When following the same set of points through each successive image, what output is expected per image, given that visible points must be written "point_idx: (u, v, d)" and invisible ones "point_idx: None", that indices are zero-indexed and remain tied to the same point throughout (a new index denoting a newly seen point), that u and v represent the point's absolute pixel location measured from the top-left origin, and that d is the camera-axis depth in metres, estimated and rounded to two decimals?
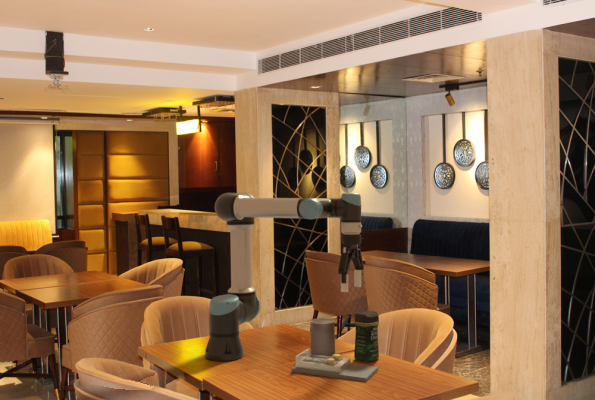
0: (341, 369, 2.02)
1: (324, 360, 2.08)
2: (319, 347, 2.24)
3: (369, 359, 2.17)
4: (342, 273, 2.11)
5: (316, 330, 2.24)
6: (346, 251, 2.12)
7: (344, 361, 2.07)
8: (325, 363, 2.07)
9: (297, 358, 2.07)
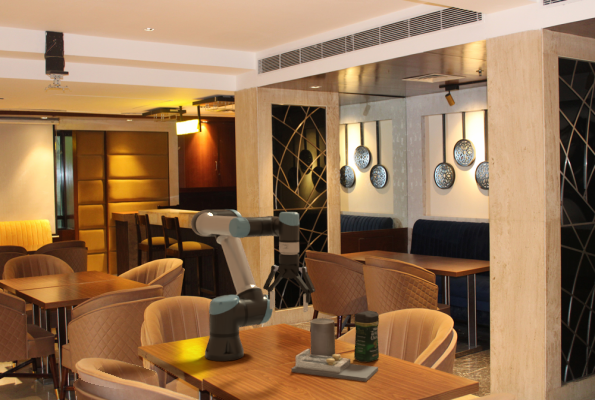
0: (341, 369, 2.02)
1: (324, 360, 2.08)
2: (319, 347, 2.24)
3: (369, 359, 2.17)
4: None
5: (316, 330, 2.24)
6: None
7: (344, 361, 2.07)
8: (325, 363, 2.07)
9: (297, 358, 2.07)
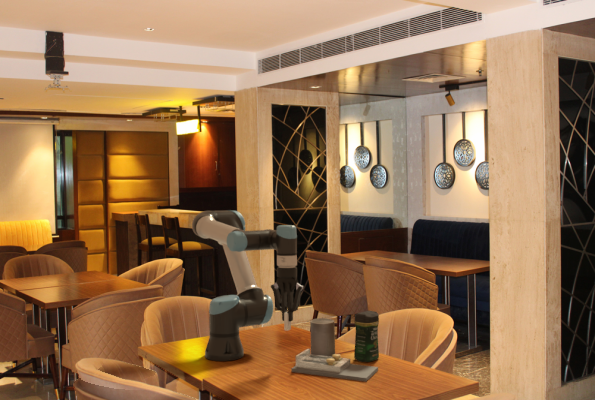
0: (341, 369, 2.02)
1: (324, 360, 2.08)
2: (319, 347, 2.24)
3: (369, 359, 2.17)
4: None
5: (316, 330, 2.24)
6: None
7: (344, 361, 2.07)
8: (325, 363, 2.07)
9: (297, 358, 2.07)
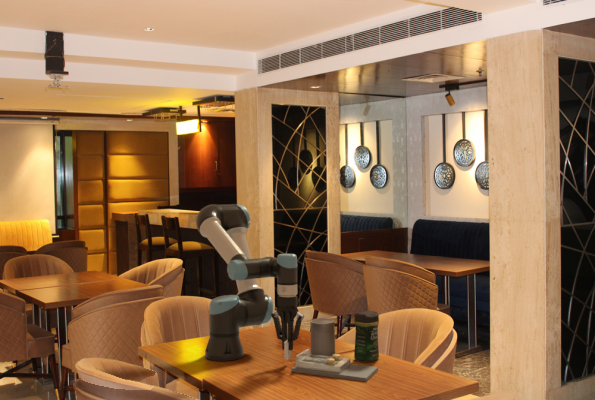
0: (341, 369, 2.02)
1: (324, 360, 2.08)
2: (319, 347, 2.24)
3: (369, 359, 2.17)
4: None
5: (316, 330, 2.24)
6: None
7: (344, 361, 2.07)
8: (325, 363, 2.07)
9: (297, 358, 2.07)
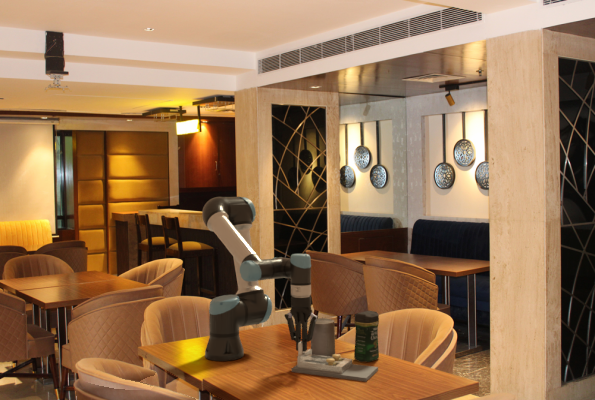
0: (343, 369, 2.01)
1: None
2: (319, 347, 2.24)
3: (369, 359, 2.17)
4: None
5: (316, 330, 2.24)
6: None
7: (346, 361, 2.07)
8: (327, 363, 2.06)
9: (299, 358, 2.07)
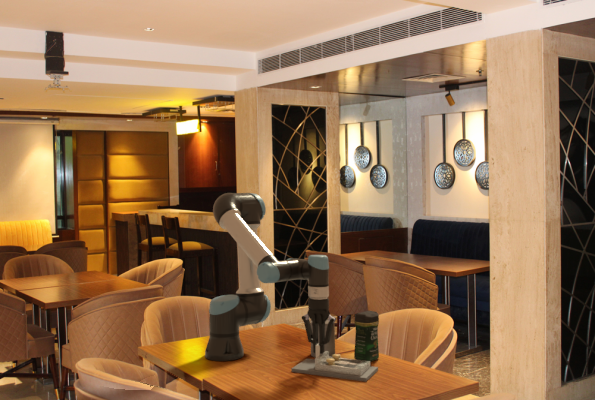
0: (362, 372, 1.99)
1: (344, 362, 2.05)
2: None
3: (369, 359, 2.17)
4: None
5: None
6: None
7: (364, 363, 2.04)
8: (345, 365, 2.03)
9: (316, 360, 2.04)
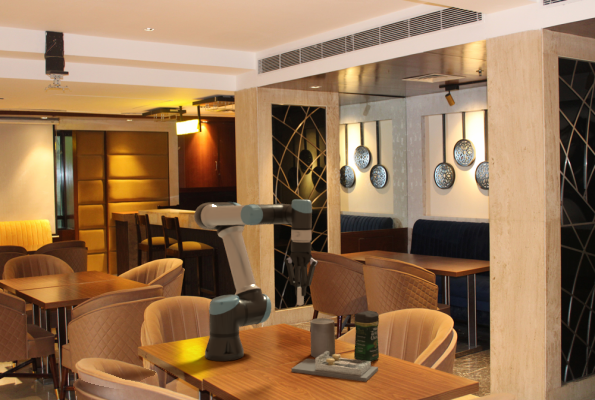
0: (362, 372, 1.98)
1: (344, 362, 2.05)
2: (319, 347, 2.24)
3: (369, 359, 2.17)
4: None
5: (316, 330, 2.24)
6: None
7: (365, 363, 2.04)
8: (345, 366, 2.03)
9: (317, 360, 2.04)
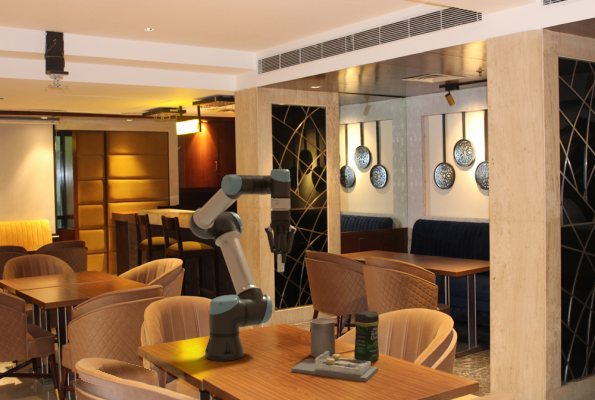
0: (362, 372, 1.98)
1: (344, 362, 2.05)
2: (319, 347, 2.24)
3: (369, 359, 2.17)
4: None
5: (316, 330, 2.24)
6: None
7: (365, 363, 2.04)
8: (345, 366, 2.03)
9: (317, 360, 2.04)
